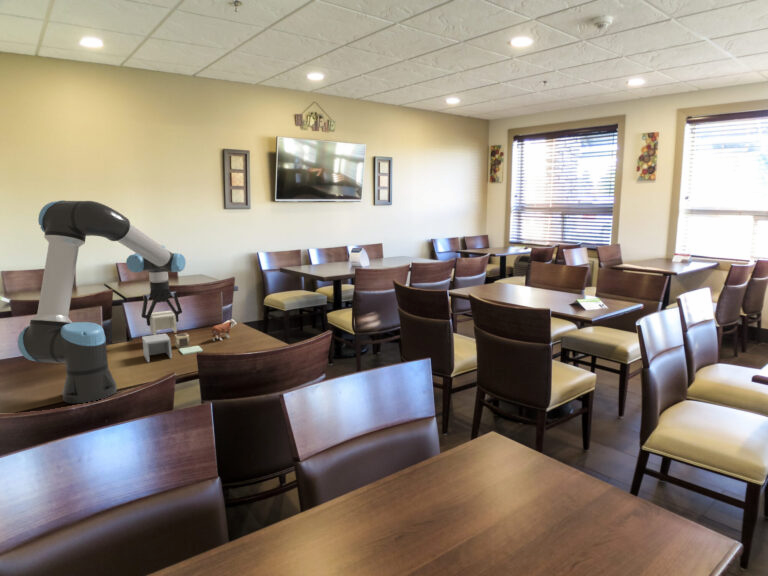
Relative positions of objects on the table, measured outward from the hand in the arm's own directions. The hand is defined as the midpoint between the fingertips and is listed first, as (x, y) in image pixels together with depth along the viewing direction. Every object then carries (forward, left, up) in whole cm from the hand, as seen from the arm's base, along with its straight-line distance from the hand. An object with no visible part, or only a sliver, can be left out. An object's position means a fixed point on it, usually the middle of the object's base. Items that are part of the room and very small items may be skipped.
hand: (163, 330), depth 220 cm
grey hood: (-21, +6, -5) cm, 23 cm away
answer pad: (-20, -7, -5) cm, 22 cm away
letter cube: (-11, -5, -5) cm, 13 cm away
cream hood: (0, 0, 0) cm, 0 cm away
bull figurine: (-9, -24, -5) cm, 26 cm away
